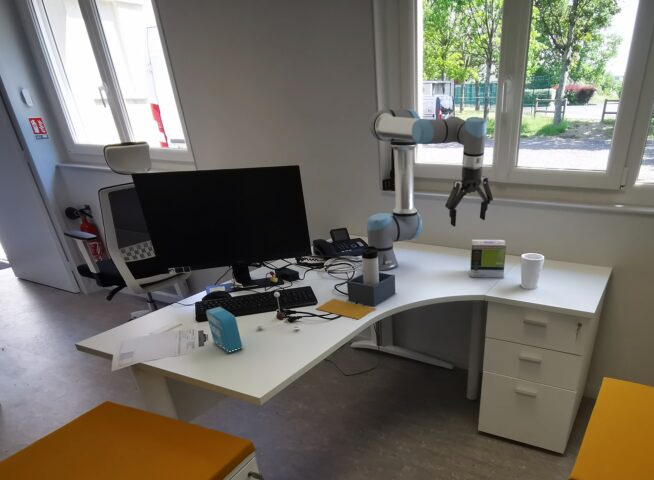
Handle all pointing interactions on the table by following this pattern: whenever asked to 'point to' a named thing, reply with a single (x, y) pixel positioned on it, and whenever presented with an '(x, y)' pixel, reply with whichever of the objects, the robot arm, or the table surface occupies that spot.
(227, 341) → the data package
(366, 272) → the travel mug
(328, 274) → the table surface
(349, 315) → the desk mat
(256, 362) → the table surface
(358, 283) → the bin
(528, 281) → the foam cup
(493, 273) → the tea box
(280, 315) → the molecular model
